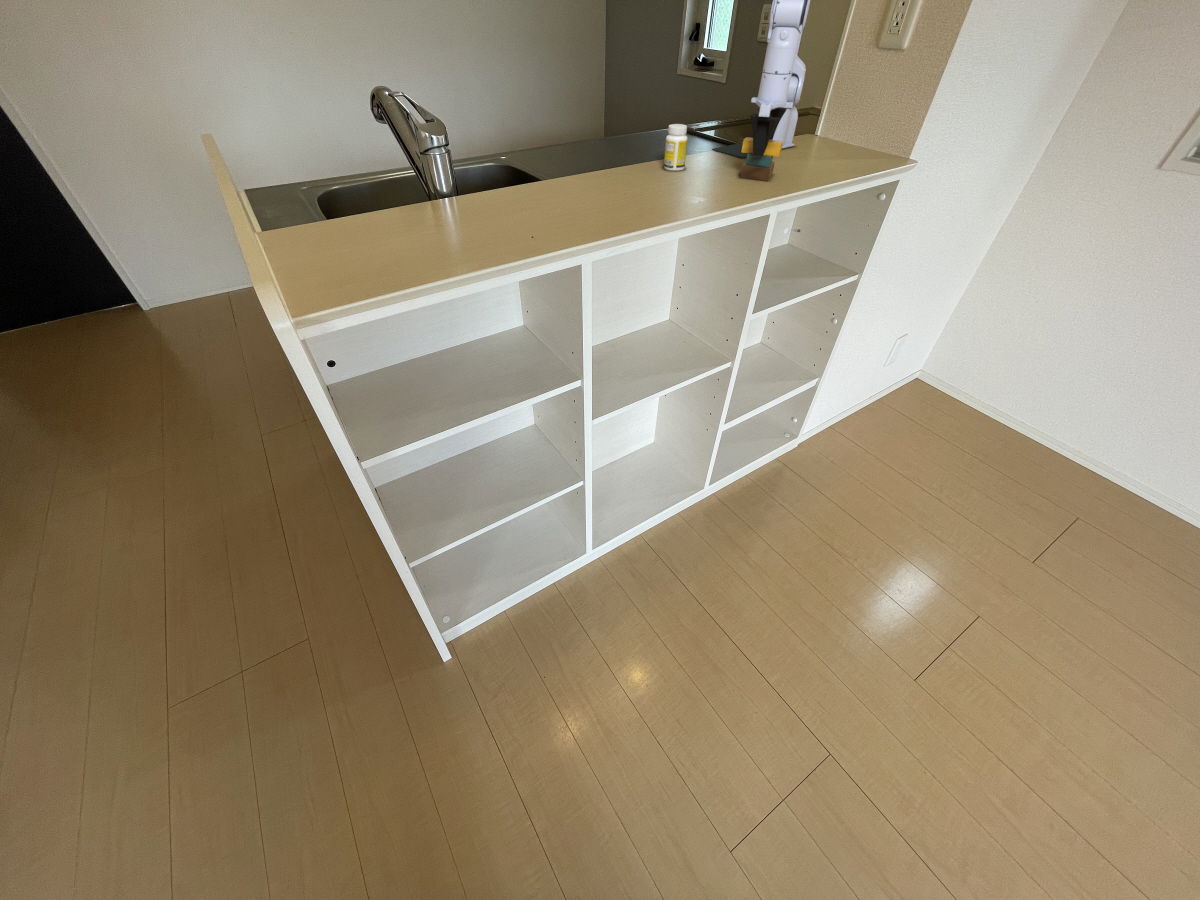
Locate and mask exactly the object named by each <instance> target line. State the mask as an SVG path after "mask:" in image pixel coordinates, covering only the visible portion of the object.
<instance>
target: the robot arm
mask: <svg viewBox="0 0 1200 900" xmlns="http://www.w3.org/2000/svg"><path fill="white" fill-rule="evenodd" d="M810 5H811V0H772V3H771V8H770V13H769V18H768V32H767V38H766V43H767V46H766V51H765V56H764V61H763V62H764V63H763V65H762V73H761V77H760V83H759V89H758V93H757V97H755V96H753V97H752V98H751V99H750V103H752V104H755V105H757V106H758V113H752V114H750V123H751V124H750V125H751V127H752V138H753V155H761V156H763V155H764V152H765V150H766V147H767V145H768V142H769V140H779V141H783V146H782V150H783V149H788V148H790V147H795V143H793V140H794V136H795V131H796V128H797V123H798V118H799V113H798V109H797V107H796V106H797V105H798V104H799V103H800V100H801V95H802V91H803V87H804V83H805V78H806V71H807V68H806V64H805V63H804V61H803V60H802V59H801V58H800V57H799V56H798V55H799V49H800V44H801V40H802V35H803V31H804V28H805V26H806V23H807V18H808V14H809V10H810Z"/></svg>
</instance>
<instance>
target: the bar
mask: <svg viewBox="0 0 1200 900" xmlns="http://www.w3.org/2000/svg"><path fill="white" fill-rule="evenodd" d="M742 140H743V141H742V143H743V146H742V151H741V152H742V153H750V154H753V137H747V136H746V137H745V138H744V139H742ZM782 146H783V141H779V140H769V142H768V145H767V147H766V150H765V152H764V155H769V156H773V157H780V155H781V153H782V150H783V149H782Z"/></svg>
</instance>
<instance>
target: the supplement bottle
mask: <svg viewBox="0 0 1200 900" xmlns="http://www.w3.org/2000/svg"><path fill="white" fill-rule="evenodd" d="M687 130H688V126H687V125H686V124H684V123H672V124H669V125H668V129H667V131H668V132H667V133H668V134H667V135H666V137H665V145H664V159H663V168H664V169H665V170H667V171H672V172H678V171H683V170H684V169H685V166H686V158H687V157H686V156H687V146H688V135H686V134H687Z"/></svg>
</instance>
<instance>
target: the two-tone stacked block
mask: <svg viewBox="0 0 1200 900" xmlns="http://www.w3.org/2000/svg"><path fill="white" fill-rule="evenodd" d="M773 158H774V156H769V155H763V156H761V155H753V154H750V153H748V154H747V157H746V158H745V161H744V163H743V164H742V166H741V171H740V178H741V179H746V180H747V179H748V180H755V181H763V182H768V181H769V180H770V178H771V177H772V175H773V172H774V168H775V161H774V159H773Z"/></svg>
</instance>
